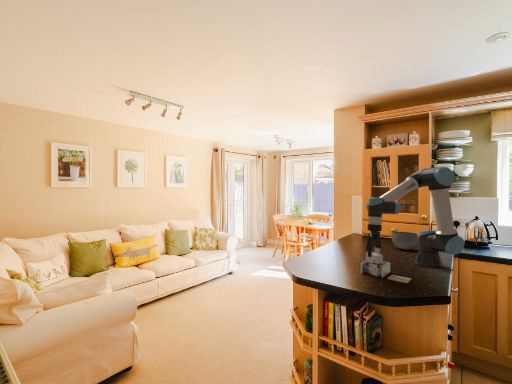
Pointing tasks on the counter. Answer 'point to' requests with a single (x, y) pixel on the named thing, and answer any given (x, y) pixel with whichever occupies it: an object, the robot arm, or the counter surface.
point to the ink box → (374, 265)
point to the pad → (399, 278)
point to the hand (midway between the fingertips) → (373, 260)
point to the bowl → (405, 240)
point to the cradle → (384, 270)
